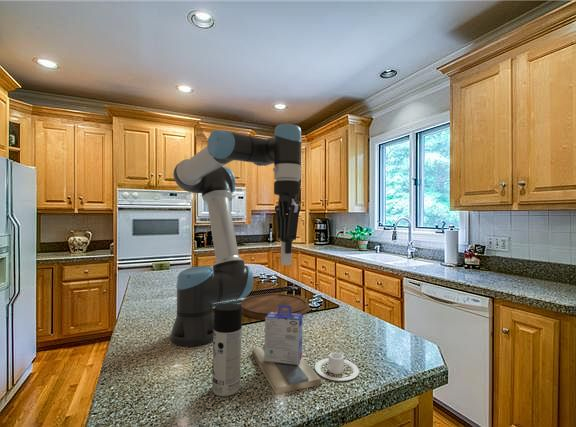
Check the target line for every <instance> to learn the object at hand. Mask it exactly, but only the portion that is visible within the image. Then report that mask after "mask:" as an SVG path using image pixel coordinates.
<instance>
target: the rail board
mask: <svg viewBox="0 0 576 427" xmlns="http://www.w3.org/2000/svg"><path fill="white" fill-rule="evenodd" d="M264 350H265V343H263V344H262V346H259V347H252V350H251V351H252V352H251V353H252V355H253V358H254V359H255V361H256V363H257V364H258V366H259V369H260V370H261V371H262V373H263V375H264V377H265V378H266V380H267V382H268V384H269V385H270V387H271V389H272V390H273V392H274V394H275V395H280V394H283V393H289V392H293V391H299V390H302V389H308V388H312V387H316V386H322V378H321V377H320V375H319V374H318V373H317V372H316V370H315V369H313V368H312V367H311V366H310V364H309V363H308V362H307V361H306V360H305V359H304V357H302V358H301V360H300V362H299V365H294V364H286V363H278V362H270V361H264Z"/></svg>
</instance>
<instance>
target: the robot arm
mask: <svg viewBox="0 0 576 427" xmlns="http://www.w3.org/2000/svg"><path fill="white" fill-rule="evenodd" d="M273 135H274V136H271V137H270V138H263V137H258V136H252V135H246V134H242V133H237V132H232V131H229V130H219V129H215V130H213V131H211V132H210V134H209V136H208V138H207V144H206V146H205V147H203V148H202V149H201V150H200V151H198V152H197V153H195V154H194V155H193V156H191V157H190V158H186V159H183V160H181V161H179V163H177V164H176V165H175V167H174V170H173V173H172V174H173V179H174V182H175V183H176V185H177V186H178V187H179V188H180V189H181V190H183V191H184V192H185V191H186V192H188V193H191V194H193V193H194V194H201V195H202V196H201V197H202V200H203V202H205V203H207V204H206V205H207V209H208V210H207V211H208V216H209V223H210V230H211V236H212V242H213V249H214V256H215V257H214V258H215V261H214V263H213V264H212V266H211V265H202V266H200V265H199V266H193V267H188V268H185V269H183V270H181V271H180V272H179V273H178V275H177V282H176V287H175V288H176V318H175V320H174V322H173V326H172V329H171V332H170V341H171V343H172V344H174V345H176V346H180V347H197V346H203V345H205V344H206V345H207V344H209V343H211V342H213V333H214V328H213V327H214V312H213V304H219V303H223V302H229V301H233V300H234V301H236V300H240V299H245V298H247V297H248V296H249V294H250V293H251V291H252V289H253V285H254V273H253V270H252V268H251V267H250V266H249V265H248V266H247V265H245V261H244V259H243V258H242V257H240V254H239V250H238V243H237V239H236V232H235V227H234V222H233V215H232V209H231V204H230V199H231V198H232V196H233V193H234V192H235V188H236V177H235V175H234V172H233V171H232V169H230V168H229V167H227V166H225V165H227V164H229V163H231V162H233V161H239V162H244V163H245V162H247V163H252V164H254V166H257V167H261V166H264V167H267V166H270V165H274V167H273V168H272V171H273V173H274V175H273V179H274V180H276V181H274V182H273V194H274V195H275V196H278V201H277V205H275V206H274V212H275V218H276V229H277V230H276V231H277V239H279V240H280V265H281V266H292V264H293V263H292V262H293V261H292V260H293V257H292V256H293V242H294V241H296V239H297V234H298V225H299V224H298V223H299V217H300V211H301V209H302V207H301V204H297V197H296V196H300V195H301V191H302V190H301V188H302V187H301V186H302V185H301V184H302V183H301V182H300V181H301V180H302V164H301V163H302V142H303V141H302V130H301V127H300V126H299V125H296V124H292V123H281V124H278V125H276V127H275V128H274V132H273Z"/></svg>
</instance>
